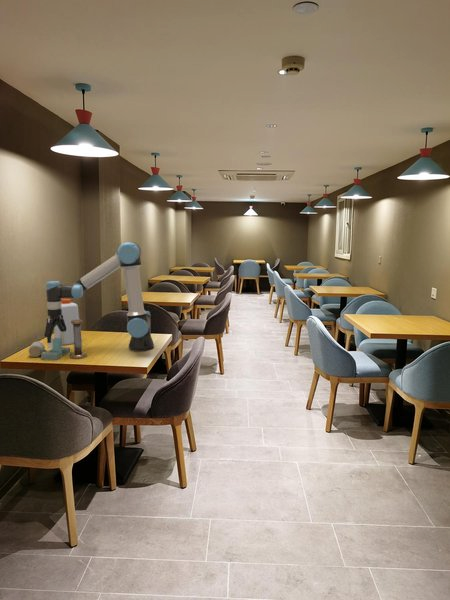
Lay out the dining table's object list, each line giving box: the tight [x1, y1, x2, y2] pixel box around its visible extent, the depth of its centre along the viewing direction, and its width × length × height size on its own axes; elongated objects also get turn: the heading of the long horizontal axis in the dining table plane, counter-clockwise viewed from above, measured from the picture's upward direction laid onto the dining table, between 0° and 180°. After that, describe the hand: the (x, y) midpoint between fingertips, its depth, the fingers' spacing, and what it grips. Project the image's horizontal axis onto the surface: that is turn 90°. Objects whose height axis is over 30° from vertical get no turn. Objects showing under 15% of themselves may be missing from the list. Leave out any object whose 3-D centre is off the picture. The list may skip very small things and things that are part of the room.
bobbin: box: [69, 319, 88, 360], centre depth 260 cm, size 9×9×21 cm
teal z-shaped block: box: [40, 346, 72, 361], centre depth 264 cm, size 9×16×3 cm, turn 171°
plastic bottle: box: [53, 298, 83, 346], centre depth 294 cm, size 15×15×28 cm
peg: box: [51, 337, 63, 357], centre depth 263 cm, size 4×4×10 cm
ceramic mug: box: [28, 341, 48, 358], centre depth 264 cm, size 11×8×8 cm
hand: (56, 345), depth 263 cm, fingers open, 13 cm apart
